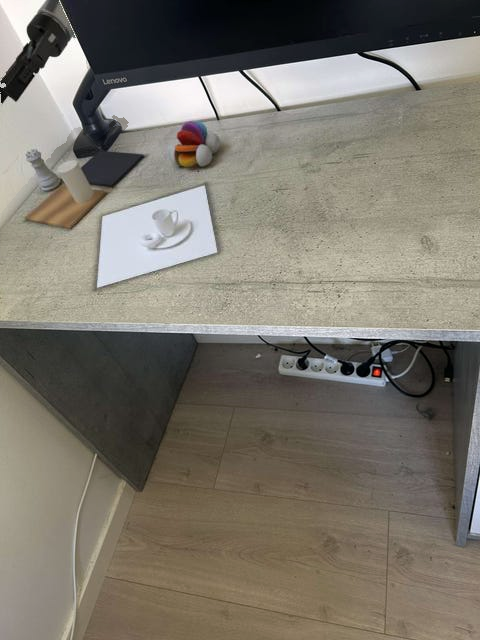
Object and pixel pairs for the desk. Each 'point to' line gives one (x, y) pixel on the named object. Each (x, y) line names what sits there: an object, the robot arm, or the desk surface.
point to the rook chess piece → (42, 171)
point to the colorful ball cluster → (194, 145)
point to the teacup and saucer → (155, 236)
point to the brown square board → (63, 208)
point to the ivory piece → (76, 181)
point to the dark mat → (109, 167)
